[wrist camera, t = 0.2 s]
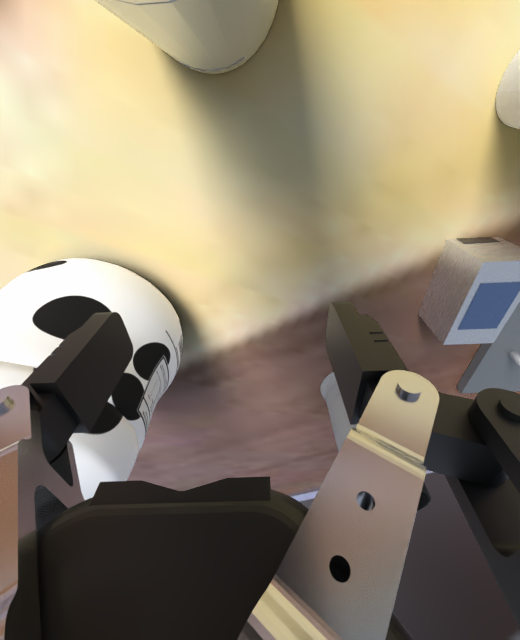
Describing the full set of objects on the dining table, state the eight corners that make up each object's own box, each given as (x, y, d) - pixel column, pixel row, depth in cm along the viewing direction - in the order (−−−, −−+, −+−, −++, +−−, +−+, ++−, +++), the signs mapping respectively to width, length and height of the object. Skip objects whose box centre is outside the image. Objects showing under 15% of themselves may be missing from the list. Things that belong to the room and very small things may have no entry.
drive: (445, 237, 26) (484, 262, 22) (497, 235, 26) (547, 259, 22) (417, 313, 32) (443, 345, 27) (460, 311, 31) (494, 343, 27)
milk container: (-3, 288, 29) (-259, 453, 15) (116, 214, 25) (-85, 348, 10) (114, 382, 38) (28, 540, 24) (217, 341, 34) (187, 505, 19)
